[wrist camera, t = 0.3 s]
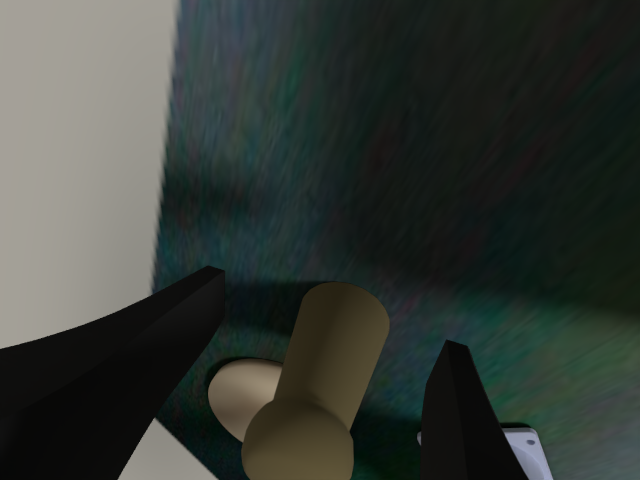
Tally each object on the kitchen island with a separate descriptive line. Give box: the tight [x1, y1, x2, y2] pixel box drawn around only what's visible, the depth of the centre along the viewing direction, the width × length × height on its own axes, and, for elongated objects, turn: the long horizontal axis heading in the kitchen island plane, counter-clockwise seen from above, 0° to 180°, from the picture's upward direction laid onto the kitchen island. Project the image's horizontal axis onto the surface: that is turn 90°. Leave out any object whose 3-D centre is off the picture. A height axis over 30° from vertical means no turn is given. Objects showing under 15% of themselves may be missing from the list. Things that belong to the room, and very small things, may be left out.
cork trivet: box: [208, 358, 283, 442], centre depth 33 cm, size 12×12×1 cm
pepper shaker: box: [241, 282, 390, 480], centre depth 21 cm, size 6×6×11 cm
